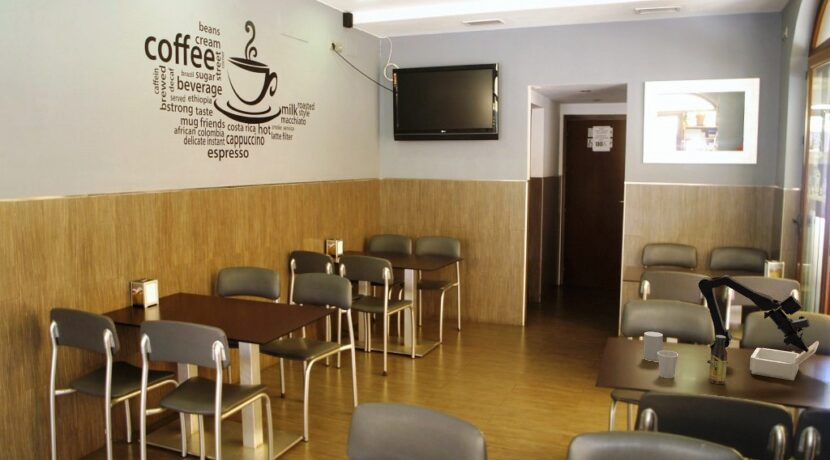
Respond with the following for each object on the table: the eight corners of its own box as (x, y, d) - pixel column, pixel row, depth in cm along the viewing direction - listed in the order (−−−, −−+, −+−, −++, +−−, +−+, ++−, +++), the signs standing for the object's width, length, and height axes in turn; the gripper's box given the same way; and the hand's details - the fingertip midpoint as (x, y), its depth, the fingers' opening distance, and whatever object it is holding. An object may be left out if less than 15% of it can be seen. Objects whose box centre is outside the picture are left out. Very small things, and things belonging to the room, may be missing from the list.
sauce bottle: (706, 380, 286) (708, 333, 283) (720, 379, 286) (722, 333, 284) (714, 385, 279) (716, 338, 277) (728, 385, 280) (731, 337, 277)
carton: (749, 373, 294) (750, 357, 293) (756, 362, 310) (757, 347, 309) (793, 381, 284) (794, 364, 284) (798, 368, 300) (799, 353, 300)
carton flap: (813, 349, 280) (815, 351, 280) (817, 340, 294) (819, 342, 294) (796, 363, 284) (798, 365, 284) (800, 353, 298) (802, 355, 298)
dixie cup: (667, 380, 285) (668, 357, 284) (652, 374, 293) (653, 352, 291) (681, 377, 289) (682, 354, 288) (666, 371, 296) (667, 349, 295)
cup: (661, 357, 317) (662, 332, 315) (661, 362, 309) (663, 337, 308) (643, 356, 319) (644, 331, 318) (643, 361, 312) (644, 335, 310)
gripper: (796, 315, 282) (823, 346, 277) (801, 306, 297) (827, 336, 292) (772, 329, 287) (799, 360, 283) (778, 320, 303) (803, 349, 298)
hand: (807, 351), depth 289 cm, fingers closed, pressing on carton flap
